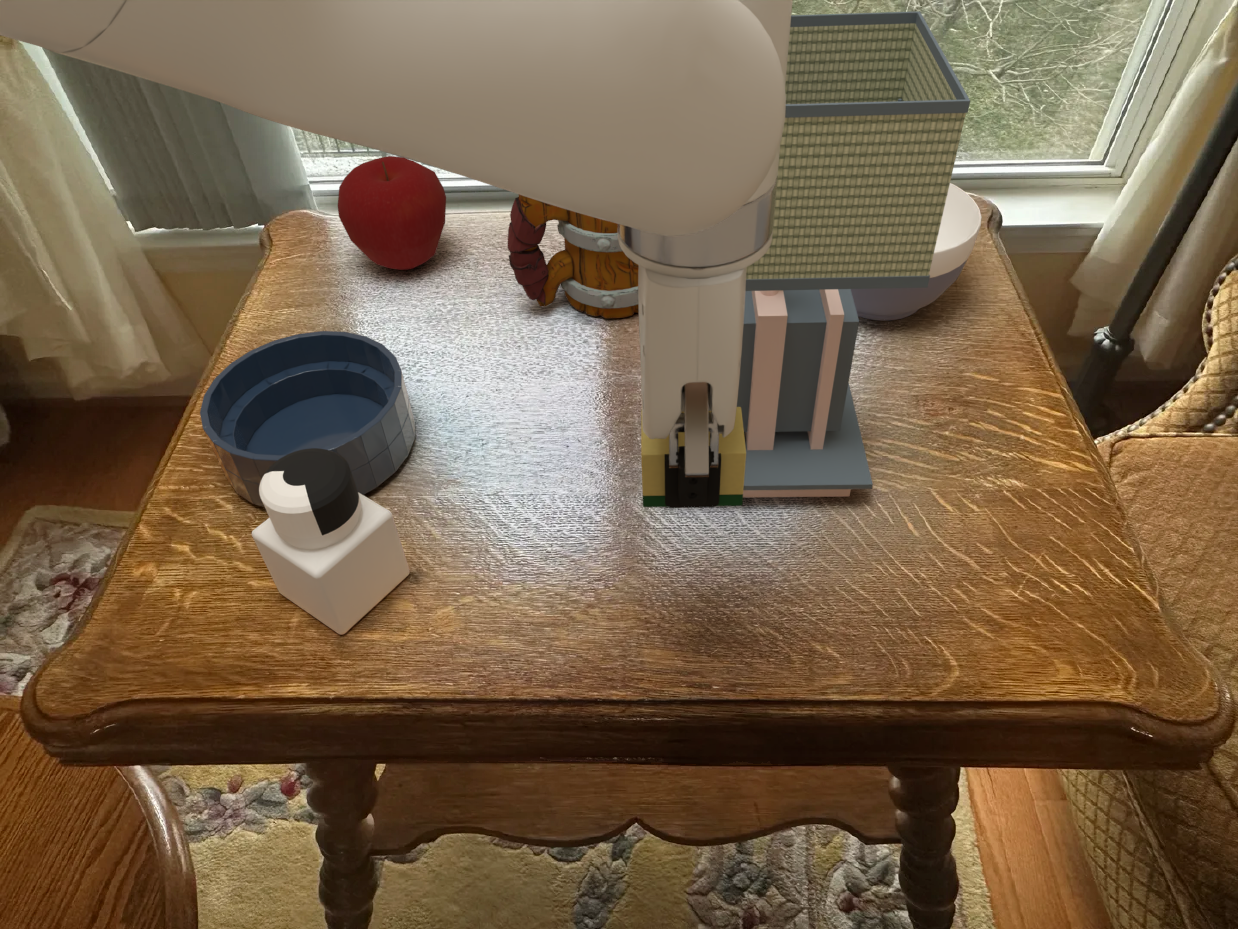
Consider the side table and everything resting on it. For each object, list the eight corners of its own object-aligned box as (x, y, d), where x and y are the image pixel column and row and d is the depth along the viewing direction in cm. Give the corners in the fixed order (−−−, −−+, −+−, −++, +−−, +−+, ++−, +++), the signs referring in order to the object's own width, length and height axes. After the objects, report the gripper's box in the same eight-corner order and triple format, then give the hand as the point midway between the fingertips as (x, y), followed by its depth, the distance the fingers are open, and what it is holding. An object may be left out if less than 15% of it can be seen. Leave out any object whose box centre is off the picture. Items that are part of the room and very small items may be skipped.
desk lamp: (850, 390, 85) (918, 9, 62) (878, 506, 75) (971, 102, 52) (647, 393, 85) (639, 18, 62) (647, 508, 75) (638, 112, 52)
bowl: (790, 251, 101) (799, 168, 94) (941, 250, 100) (961, 166, 93) (805, 342, 90) (816, 256, 83) (975, 342, 89) (1000, 254, 82)
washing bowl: (313, 546, 74) (289, 490, 69) (188, 465, 81) (159, 408, 76) (454, 430, 83) (442, 372, 78) (330, 365, 90) (312, 310, 85)
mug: (687, 303, 95) (689, 165, 84) (533, 346, 91) (516, 206, 80) (644, 251, 102) (641, 117, 92) (500, 289, 98) (479, 153, 88)
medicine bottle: (348, 533, 75) (307, 422, 66) (412, 573, 72) (378, 461, 63) (277, 593, 71) (224, 483, 62) (342, 638, 68) (295, 528, 59)
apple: (342, 288, 99) (312, 187, 91) (371, 234, 107) (346, 136, 98) (443, 291, 98) (422, 189, 90) (466, 236, 106) (449, 137, 97)
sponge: (643, 507, 57) (641, 454, 54) (643, 461, 60) (641, 408, 57) (742, 506, 57) (746, 453, 54) (737, 459, 60) (741, 406, 56)
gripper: (619, 130, 51) (630, 387, 64) (612, 315, 39) (628, 585, 52) (758, 125, 51) (741, 385, 64) (794, 311, 39) (764, 583, 52)
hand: (690, 473), depth 58 cm, fingers closed on sponge, 4 cm apart
